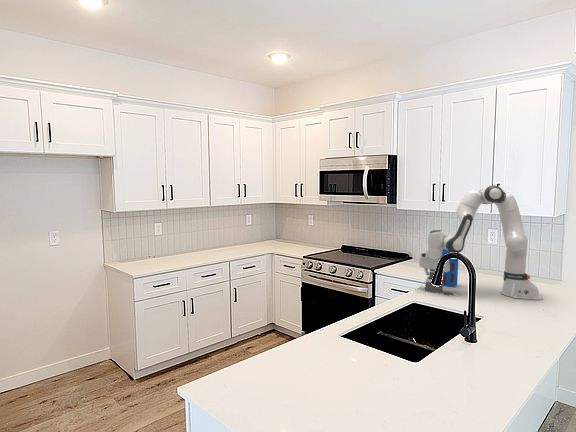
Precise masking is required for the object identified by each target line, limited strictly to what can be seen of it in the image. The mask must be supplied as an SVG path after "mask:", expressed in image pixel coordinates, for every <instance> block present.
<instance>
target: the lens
mask: <svg viewBox="0 0 576 432" xmlns="http://www.w3.org/2000/svg"><path fill="white" fill-rule="evenodd" d="M428 270H429V271H428V272H429V275H428V276H429V279H432V278H433V275H434V273H435V270H434V269H428Z"/></svg>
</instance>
